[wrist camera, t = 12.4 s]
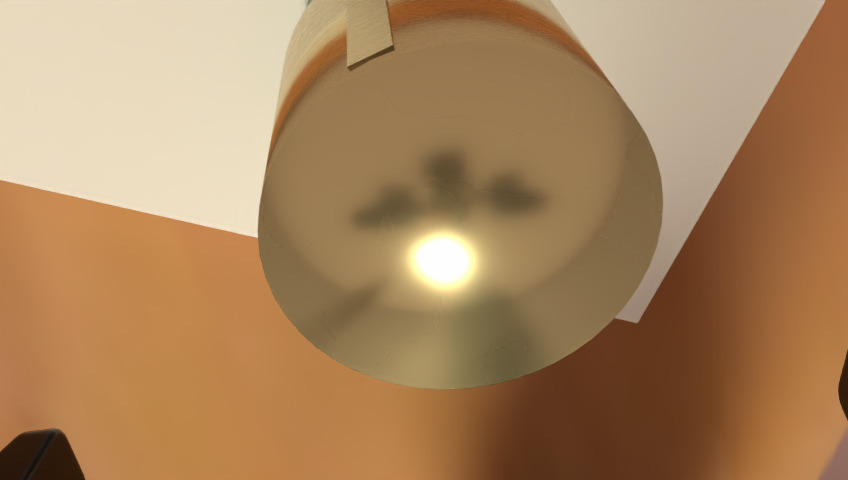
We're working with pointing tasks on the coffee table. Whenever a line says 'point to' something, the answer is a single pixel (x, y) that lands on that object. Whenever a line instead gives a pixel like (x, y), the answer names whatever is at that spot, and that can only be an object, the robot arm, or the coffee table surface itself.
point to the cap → (452, 190)
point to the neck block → (260, 81)
